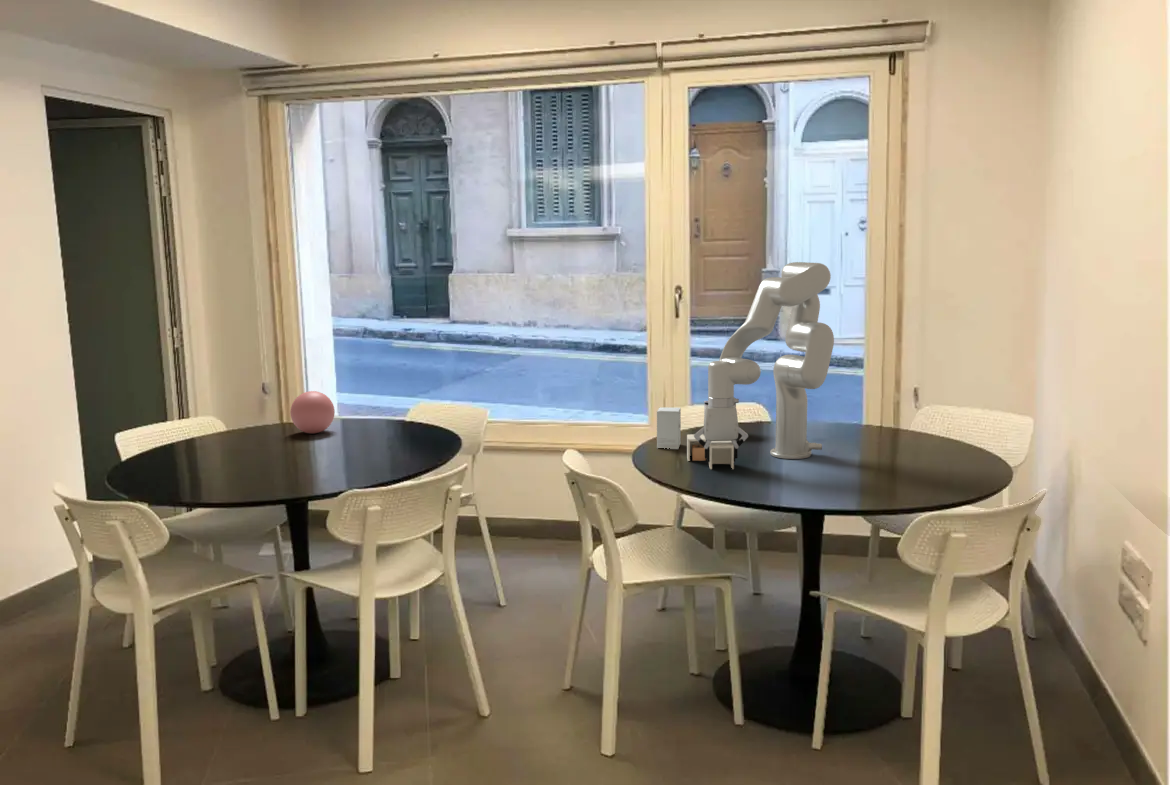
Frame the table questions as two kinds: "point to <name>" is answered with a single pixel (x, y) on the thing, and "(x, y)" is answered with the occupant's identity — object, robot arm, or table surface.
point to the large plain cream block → (690, 442)
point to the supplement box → (669, 428)
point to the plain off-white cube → (721, 453)
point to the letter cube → (698, 452)
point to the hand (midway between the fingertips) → (721, 460)
